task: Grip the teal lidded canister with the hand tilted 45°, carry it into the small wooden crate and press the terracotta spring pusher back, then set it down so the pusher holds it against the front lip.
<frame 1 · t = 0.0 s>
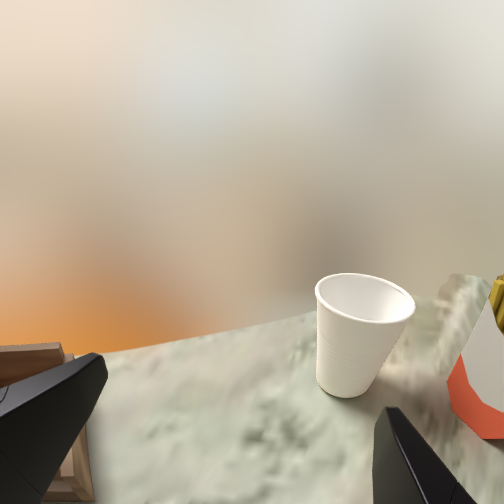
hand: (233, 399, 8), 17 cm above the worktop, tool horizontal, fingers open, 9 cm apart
small wooden crate: (35, 430, 19), on the worktop
cup: (342, 382, 31), on the worktop
french fries container: (475, 418, 23), on the worktop
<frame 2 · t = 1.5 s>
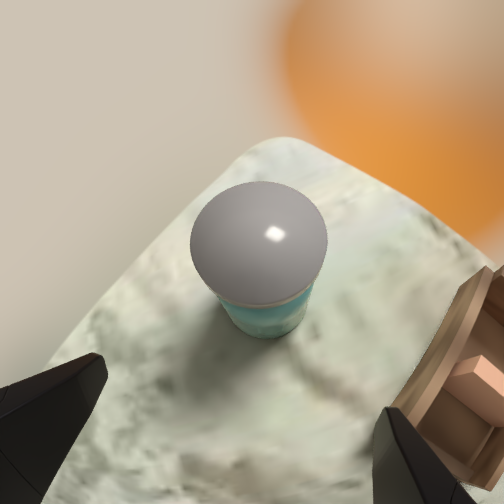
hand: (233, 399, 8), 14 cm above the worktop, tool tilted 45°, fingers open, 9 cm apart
small wooden crate: (474, 375, 19), on the worktop
pusher: (489, 397, 15), point 4 cm above the worktop, slide at 0.0 cm
teal lidded canister: (266, 298, 24), on the worktop
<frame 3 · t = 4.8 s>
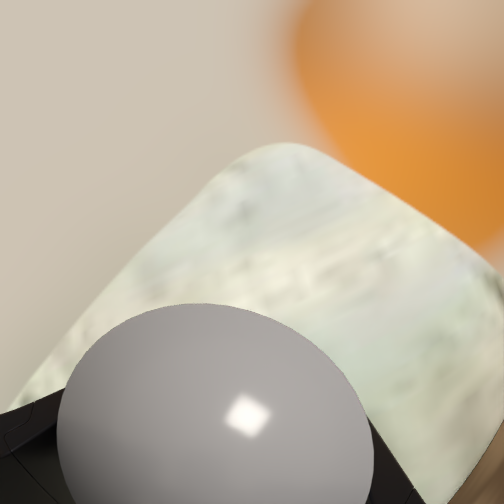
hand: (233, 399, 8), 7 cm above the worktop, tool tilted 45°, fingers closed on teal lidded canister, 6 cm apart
teal lidded canister: (247, 420, 14), on the worktop, touching gripper
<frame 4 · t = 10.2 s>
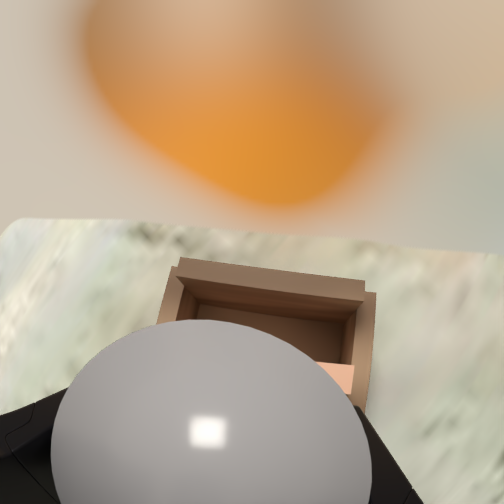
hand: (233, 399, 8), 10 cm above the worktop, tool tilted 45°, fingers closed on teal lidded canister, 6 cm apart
small wooden crate: (257, 395, 17), on the worktop
pusher: (256, 371, 14), point 4 cm above the worktop, slide at 3.7 cm
teal lidded canister: (241, 452, 13), point 4 cm above the worktop, tilted 9°, touching gripper
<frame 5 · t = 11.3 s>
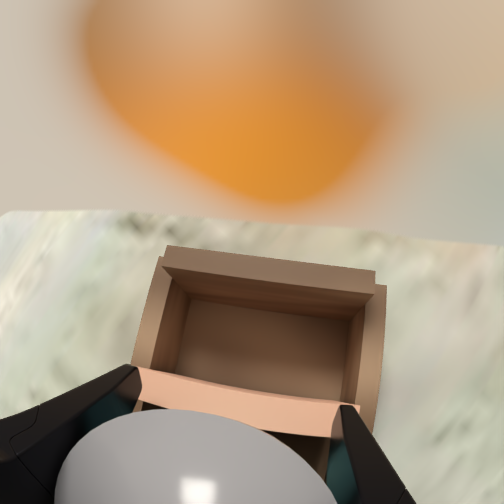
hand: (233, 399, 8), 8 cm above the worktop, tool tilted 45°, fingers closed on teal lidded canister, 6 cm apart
small wooden crate: (254, 400, 16), on the worktop
pusher: (246, 404, 12), point 4 cm above the worktop, slide at 2.4 cm, touching teal lidded canister
teal lidded canister: (236, 480, 12), point 2 cm above the worktop, tilted 7°, touching gripper, small wooden crate, pusher
when the fingers open (8 cm above the worktop, at t = 12.0 s): teal lidded canister stays where it is, resting on small wooden crate, pusher.
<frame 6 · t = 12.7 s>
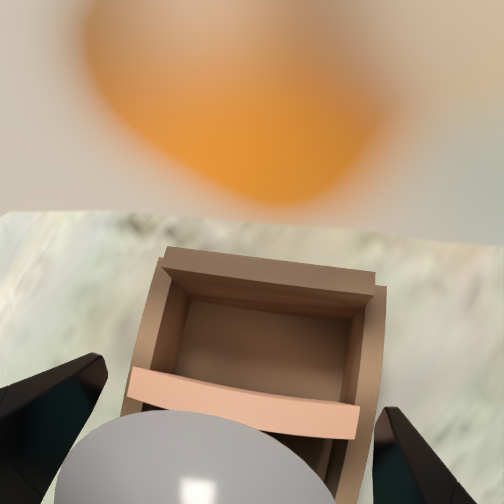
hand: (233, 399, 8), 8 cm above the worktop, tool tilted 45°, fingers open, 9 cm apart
small wooden crate: (254, 400, 16), on the worktop
pusher: (246, 404, 12), point 4 cm above the worktop, slide at 2.4 cm, touching teal lidded canister
teal lidded canister: (235, 480, 12), point 2 cm above the worktop, tilted 7°, touching small wooden crate, pusher
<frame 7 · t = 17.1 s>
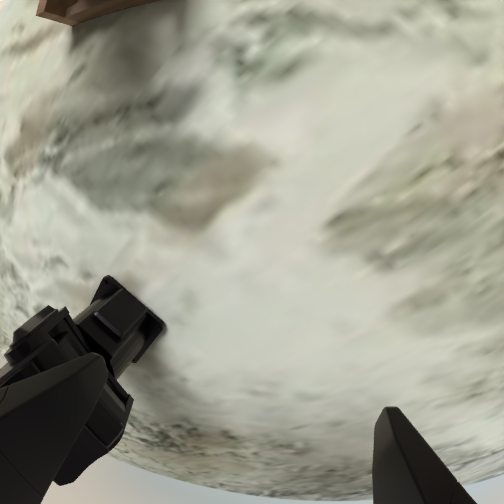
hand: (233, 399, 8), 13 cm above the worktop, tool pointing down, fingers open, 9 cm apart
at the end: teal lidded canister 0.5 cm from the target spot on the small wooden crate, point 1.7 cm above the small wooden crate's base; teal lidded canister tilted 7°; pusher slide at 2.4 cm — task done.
